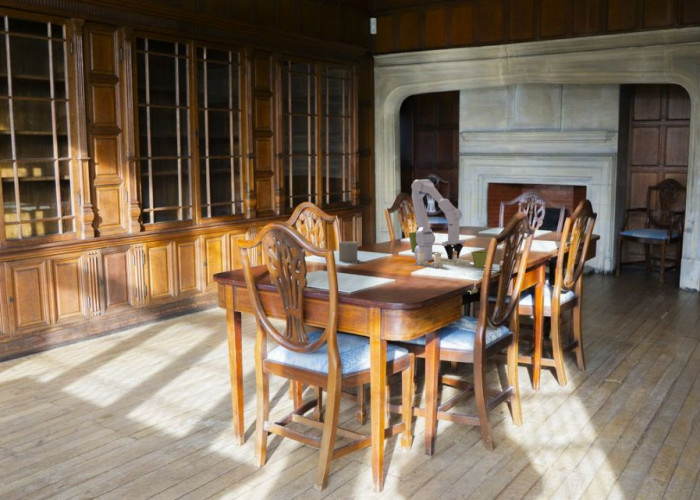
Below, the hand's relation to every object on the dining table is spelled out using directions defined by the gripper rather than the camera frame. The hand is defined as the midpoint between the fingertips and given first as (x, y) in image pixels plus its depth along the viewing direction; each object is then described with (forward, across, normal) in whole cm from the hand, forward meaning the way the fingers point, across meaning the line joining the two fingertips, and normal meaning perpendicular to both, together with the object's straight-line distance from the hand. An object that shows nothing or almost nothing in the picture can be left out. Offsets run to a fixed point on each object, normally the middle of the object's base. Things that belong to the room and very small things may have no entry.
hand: (453, 258), depth 371 cm
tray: (+4, 0, 0) cm, 4 cm away
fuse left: (+2, -16, +7) cm, 18 cm away
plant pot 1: (+4, +21, +51) cm, 55 cm away
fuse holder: (+4, -16, +1) cm, 16 cm away
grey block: (+4, -29, +51) cm, 59 cm away
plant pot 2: (+4, +2, -17) cm, 18 cm away
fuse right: (+2, -16, -5) cm, 17 cm away
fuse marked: (+3, 0, 0) cm, 3 cm away
